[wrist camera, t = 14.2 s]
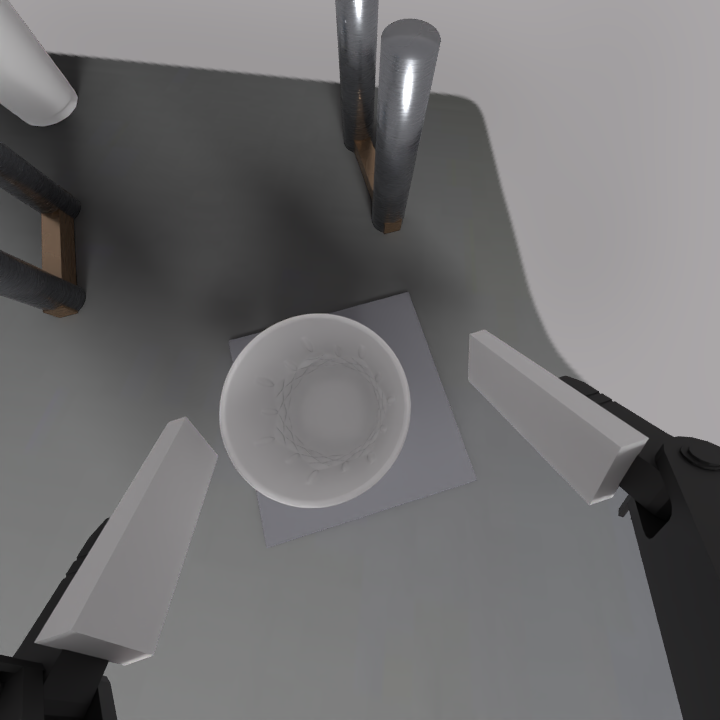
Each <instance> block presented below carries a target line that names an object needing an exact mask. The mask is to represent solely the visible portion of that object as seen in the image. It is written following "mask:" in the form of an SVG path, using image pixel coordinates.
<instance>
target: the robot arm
mask: <svg viewBox="0 0 720 720" xmlns="http://www.w3.org/2000/svg"><path fill="white" fill-rule="evenodd" d="M468 381H469V382H470V383H471V384H472V385H473V386H474V387H475V388H476V389H477V390H478V391H479V392H480V393H481V394H482V395H483V396H484V397H485V398H486V399H487V400H488V401H489V402H490V403H491V404H492V405H493V406H494V407H495V408H496V409H497V410H498V411H499V413H500V414H501V415H502V416H503V417H504V418H505V419H506V420H507V421H508V422H509V423H510V424H511V425H512V426H513V427H514V428H515V429H516V430H517V431H518V432H519V433H520V434H521V435H522V436H523V437H524V438H525V439H526V440H527V441H528V442H529V443H530V444H531V445H532V446H533V448H534V449H535V450H536V451H537V452H538V453H539V454H540V455H541V456H542V457H543V458H544V459H545V460H546V461H547V462H548V463H549V464H550V465H551V466H552V467H553V468H554V469H555V470H556V471H557V472H558V473H559V474H560V475H561V476H562V477H563V478H564V479H565V480H566V481H567V483H568V484H569V485H570V486H571V487H572V488H573V489H574V490H575V491H576V492H577V493H578V494H579V495H580V496H581V497H582V498H583V499H584V500H585V501H586V502H587V503H588V504H589V505H591V504H594V503H597V502H600V501H603V500H606V499H609V498H611V497H613V495H614V494H615V492H616V490H617V489H618V487H619V486H620V487H621V488H622V489H623V490H625V491H626V492H627V493H628V494H629V495H628V496H627V498H626V499H625V501H624V502H623V504H622V505H621V506H620V508H619V514H618V516H621V517H624V516H625V514H626V513H627V512H628V510H629V511H630V515H631V520H632V523H633V527H634V531H635V534H636V538H637V542H638V546H639V550H640V554H641V558H642V562H643V565H644V569H645V573H646V577H647V581H648V585H649V589H650V593H651V596H652V600H653V604H654V608H655V612H656V616H657V620H658V624H659V627H660V631H661V635H662V639H663V643H664V647H665V651H666V655H667V658H668V662H669V666H670V670H671V674H672V678H673V682H674V686H675V689H676V693H677V697H678V701H679V705H680V709H681V713H682V717H683V720H720V447H719V446H717V445H714V444H712V443H710V442H708V441H704V440H700V439H696V438H692V437H679V436H678V437H673V436H671V435H669V434H667V433H665V432H664V431H662V430H660V429H659V428H657V427H656V426H654V425H652V424H651V423H649V422H648V421H646V420H644V419H643V418H641V417H639V416H638V415H636V414H635V413H633V412H631V411H630V410H628V409H626V408H625V407H623V406H621V405H620V404H618V403H617V402H613V401H612V399H610V398H609V397H607V396H605V395H604V394H600V393H599V391H597V390H596V389H594V388H592V387H591V386H589V385H588V384H586V383H584V382H582V381H579V380H576V379H574V378H571V377H568V376H563V377H560V378H557V377H556V376H554V375H553V374H551V373H550V372H548V371H547V370H545V369H544V368H542V367H541V366H539V365H538V364H536V363H535V362H533V361H532V360H530V359H529V358H527V357H526V356H524V355H523V354H521V353H520V352H518V351H516V350H515V349H513V348H512V347H510V346H509V345H507V344H506V343H504V342H503V341H501V340H500V339H498V338H497V337H495V336H494V335H492V334H491V333H489V332H488V331H486V330H482V331H478V332H475V333H471V334H470V335H469V366H468ZM217 459H218V455H217V453H216V452H215V451H214V450H213V449H212V447H211V446H210V445H209V444H208V442H207V441H206V440H205V439H204V437H203V436H202V435H201V434H200V433H199V431H198V430H197V429H196V428H195V426H194V425H193V424H192V423H191V422H190V420H189V419H188V418H187V417H183V418H180V419H176V420H173V421H169V422H168V424H167V425H166V427H165V429H164V430H163V432H162V433H161V435H160V437H159V438H158V440H157V442H156V443H155V445H154V447H153V448H152V450H151V451H150V453H149V455H148V456H147V458H146V460H145V461H144V463H143V465H142V466H141V468H140V470H139V471H138V473H137V474H136V476H135V478H134V479H133V481H132V483H131V484H130V486H129V488H128V489H127V491H126V493H125V494H124V496H123V497H122V499H121V501H120V502H119V504H118V506H117V507H116V509H115V511H114V512H113V514H112V516H111V517H110V518H107V519H106V520H105V521H104V522H103V523H102V524H101V525H100V526H99V527H98V528H97V530H96V531H95V532H94V533H93V534H92V535H91V536H90V537H89V539H88V540H87V542H86V544H85V545H84V547H83V548H82V550H81V551H80V553H79V555H78V556H77V560H76V561H74V562H73V564H72V566H71V567H70V569H69V570H68V572H67V573H66V578H65V579H63V580H62V581H61V583H60V584H59V586H58V588H57V589H56V591H55V592H54V594H53V595H52V597H51V599H50V600H49V602H48V603H47V605H46V606H45V608H44V610H43V611H42V613H41V614H40V616H39V617H38V619H37V621H36V622H35V624H34V625H33V627H32V629H31V630H30V632H29V633H28V635H27V636H26V638H25V640H24V641H23V643H22V644H21V646H20V647H19V649H18V650H17V652H16V653H15V654H14V656H13V657H9V656H4V655H0V720H117V716H116V711H115V705H114V700H113V695H112V689H111V684H110V682H109V680H108V678H107V676H103V673H104V671H105V669H106V666H107V664H108V662H113V663H117V664H122V665H127V664H130V663H133V662H136V661H139V660H142V659H145V658H147V657H150V656H153V655H154V652H155V649H156V646H157V643H158V640H159V636H160V633H161V630H162V627H163V624H164V621H165V618H166V615H167V612H168V609H169V606H170V603H171V600H172V597H173V594H174V590H175V587H176V584H177V581H178V578H179V575H180V572H181V569H182V566H183V563H184V560H185V557H186V554H187V551H188V548H189V544H190V541H191V538H192V535H193V532H194V529H195V526H196V523H197V520H198V517H199V514H200V511H201V508H202V505H203V502H204V498H205V495H206V492H207V489H208V486H209V483H210V480H211V477H212V474H213V471H214V468H215V465H216V462H217Z"/></svg>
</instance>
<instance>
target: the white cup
mask: <svg viewBox="0 0 720 720" xmlns="http://www.w3.org/2000/svg"><path fill="white" fill-rule="evenodd" d="M410 415H411V400H410V391H409V386H408V382H407V378H406V375H405V373H404V370H403V368H402V366H401V364H400V362H399V360H398V358H397V357H396V355H395V353H394V352H393V351H392V349H391V348H390V347H389V346H388V344H387V343H386V342H385V341H384V340H383V339H382V338H381V337H380V336H378V335H377V334H376V333H375V332H373V331H372V330H371V329H369V328H368V327H366V326H364V325H362V324H361V323H359V322H356V321H354V320H352V319H349V318H346V317H342V316H338V315H332V314H319V313H318V314H305V315H299V316H295V317H291V318H288V319H285V320H283V321H280V322H278V323H276V324H274V325H272V326H270V327H269V328H267V329H265V330H264V331H263V332H261V333H260V334H258V335H257V336H256V337H255V338H254V339H253V340H251V341H250V342H249V343H248V344H247V346H246V347H245V348H244V349H243V350H242V351H241V353H240V354H239V355H238V357H237V358H236V360H235V361H234V363H233V365H232V366H231V368H230V370H229V372H228V375H227V377H226V380H225V382H224V386H223V389H222V393H221V398H220V407H219V422H220V431H221V436H222V440H223V443H224V446H225V449H226V452H227V454H228V456H229V458H230V460H231V462H232V464H233V465H234V467H235V468H236V470H237V471H238V472H239V474H240V475H241V476H242V477H243V478H244V479H245V480H246V482H248V483H249V484H250V485H251V486H252V487H253V488H254V489H256V490H257V491H258V492H260V493H261V494H263V495H265V496H266V497H268V498H270V499H272V500H274V501H277V502H279V503H282V504H286V505H289V506H294V507H301V508H322V507H329V506H333V505H337V504H341V503H344V502H346V501H349V500H351V499H353V498H355V497H357V496H359V495H361V494H362V493H364V492H365V491H367V490H368V489H370V488H371V487H372V486H373V485H375V484H376V483H377V482H378V481H379V480H380V479H381V478H382V477H383V476H384V475H385V474H386V473H387V472H388V470H389V469H390V468H391V466H392V465H393V463H394V462H395V460H396V459H397V457H398V455H399V453H400V451H401V449H402V447H403V445H404V442H405V439H406V436H407V432H408V428H409V423H410Z"/></svg>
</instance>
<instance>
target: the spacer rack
mask: <svg viewBox="0 0 720 720" xmlns="http://www.w3.org/2000/svg"><path fill="white" fill-rule="evenodd" d="M335 4H336V18H337V19H336V20H337V36H338V52H339V68H340V84H341V100H342V116H343V132H344V144H345V146H346V148H347V149H349V150H350V151H352V152H355V155H356V158H357V161H358V163H359V166H360V169H361V172H362V174H363V177H364V180H365V183H366V186H367V188H368V191H369V194H370V197H371V199H372V202H373V205H372V223H373V225H374V227H375V228H376V229H378V230H379V231H381V232H384V234H386V233H390V232H394V231H398V230H400V228H401V225H402V223H403V218H404V213H405V209H406V204H407V199H408V194H409V189H410V185H411V180H412V175H413V170H414V166H415V161H416V156H417V151H418V147H419V142H420V137H421V132H422V128H423V123H424V118H425V113H426V109H427V104H428V99H429V94H430V90H431V85H432V80H433V75H434V71H435V66H436V61H437V56H438V51H439V47H440V42H441V38H440V35H439V33H438V31H437V30H436V28H435V27H433V26H432V25H431V24H429V23H427V22H424V21H422V20H418V19H403V20H398V21H396V22H393V23H391V24H390V25H388V26H387V27H386V28H385V29H384V31H383V33H382V36H381V53H380V72H379V90H378V109H377V129H376V148H375V149H374V146H373V144H372V143H373V122H374V97H375V73H376V48H377V23H378V0H335ZM0 188H2V189H4V190H5V191H7V192H8V193H10V194H11V195H13V196H15V197H16V198H18V199H19V200H21V201H22V202H24V203H25V204H27V205H29V206H30V207H32V208H33V209H35V210H36V211H38V212H40V213H41V218H42V269H40V268H38V267H36V266H34V265H32V264H29V263H27V262H25V261H23V260H21V259H19V258H16V257H14V256H12V255H10V254H8V253H6V252H4V251H1V250H0V295H1V296H4V297H7V298H10V299H13V300H15V301H18V302H21V303H24V304H27V305H30V306H33V307H36V308H39V309H42V310H43V312H44V313H47V314H50V315H53V316H56V317H59V318H61V317H65V316H68V315H72V314H76V313H78V310H79V309H80V308H81V307H82V306H83V304H84V301H85V292H84V291H83V289H82V288H80V287H79V286H77V281H76V260H75V240H74V218H75V217H76V216H77V215H78V213H79V211H80V203H79V202H78V200H76V199H75V198H74V197H72V195H71V194H69V193H68V192H67V191H65V190H64V189H63V188H61V187H60V186H59V185H57V184H55V183H54V182H53V181H52V180H50V179H49V178H48V177H46V176H45V175H44V174H42V173H41V172H40V171H39V170H37V169H36V168H35V167H33V166H32V165H31V164H29V163H28V162H27V161H26V160H24V159H23V158H22V157H20V156H19V155H18V154H16V153H15V152H14V151H12V150H11V149H10V148H9V147H7V146H6V145H5V144H3V143H2V142H1V141H0Z"/></svg>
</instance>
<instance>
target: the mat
mask: <svg viewBox="0 0 720 720" xmlns="http://www.w3.org/2000/svg"><path fill="white" fill-rule="evenodd" d="M328 314H332V315H338V316H342V317H346V318H349V319H352V320H354V321H356V322H359V323H361V324H362V325H364V326H366V327H368V328H369V329H371V330H372V331H373V332H375V333H376V334H377V335H378V336H380V337H381V338H382V339H383V340H384V341H385V342H386V343H387V344H388V346H389V347H390V348H391V349H392V351H393V352H394V353H395V355H396V357H397V358H398V360H399V362H400V364H401V366H402V368H403V370H404V373H405V375H406V378H407V382H408V386H409V391H410V400H411V415H410V423H409V428H408V432H407V436H406V439H405V442H404V445H403V447H402V449H401V451H400V453H399V455H398V457H397V459H396V460H395V462H394V463H393V465H392V466H391V468H390V469H389V470H388V472H387V473H386V474H385V475H384V476H383V477H382V478H381V479H380V480H379V481H378V482H377V483H376V484H375V485H373V486H372V487H371V488H370V489H368V490H367V491H365V492H364V493H362V494H361V495H359V496H357V497H355V498H353V499H351V500H349V501H346V502H344V503H341V504H337V505H333V506H329V507H322V508H301V507H294V506H289V505H286V504H282V503H279V502H277V501H274V500H272V499H270V498H268V497H266V496H265V495H263V494H261V493H260V492H258V491H257V490H256V493H257V498H258V504H259V509H260V515H261V520H262V526H263V531H264V536H265V542H266V547H267V548H269V547H272V546H275V545H278V544H281V543H284V542H287V541H290V540H293V539H297V538H300V537H303V536H306V535H309V534H312V533H315V532H318V531H321V530H324V529H328V528H331V527H334V526H337V525H340V524H343V523H346V522H349V521H352V520H355V519H359V518H362V517H365V516H368V515H371V514H374V513H377V512H380V511H383V510H386V509H390V508H393V507H396V506H399V505H402V504H405V503H408V502H411V501H414V500H417V499H421V498H424V497H427V496H430V495H433V494H436V493H439V492H442V491H445V490H448V489H451V488H455V487H458V486H461V485H464V484H467V483H470V482H473V481H476V480H477V478H476V476H475V473H474V470H473V467H472V465H471V462H470V459H469V456H468V454H467V451H466V448H465V445H464V443H463V440H462V437H461V434H460V432H459V429H458V426H457V424H456V421H455V418H454V415H453V413H452V410H451V407H450V404H449V402H448V399H447V396H446V393H445V391H444V388H443V385H442V382H441V380H440V377H439V374H438V371H437V369H436V366H435V363H434V361H433V358H432V355H431V352H430V350H429V347H428V344H427V341H426V339H425V336H424V333H423V330H422V328H421V325H420V322H419V319H418V317H417V314H416V311H415V309H414V306H413V303H412V300H411V298H410V295H409V292H405V293H402V294H398V295H394V296H391V297H387V298H383V299H380V300H376V301H372V302H369V303H365V304H361V305H358V306H354V307H350V308H347V309H343V310H339V311H336V312H332V313H328ZM262 332H263V331H262ZM260 333H261V332H259V333H255V334H251V335H248V336H244V337H240V338H237V339H233V340H229V347H230V352H231V357H232V363H234V361H235V360H236V358H237V357H238V355H239V354H240V353H241V351H242V350H243V349H244V348H245V347H246V346H247V344H248V343H249V342H250V341H251V340H253V339H254V338H255V337H256V336H257V335H258V334H260Z"/></svg>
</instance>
